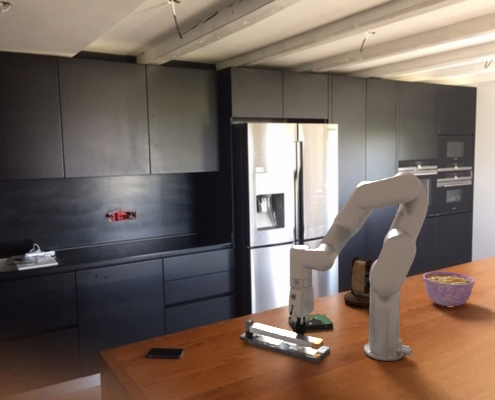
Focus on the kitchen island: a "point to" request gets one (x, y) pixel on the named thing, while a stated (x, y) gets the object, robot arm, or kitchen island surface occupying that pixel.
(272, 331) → the swing bar
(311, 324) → the disk drive
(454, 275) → the bowl of food
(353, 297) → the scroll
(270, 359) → the kitchen island surface
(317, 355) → the label panel
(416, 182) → the robot arm
